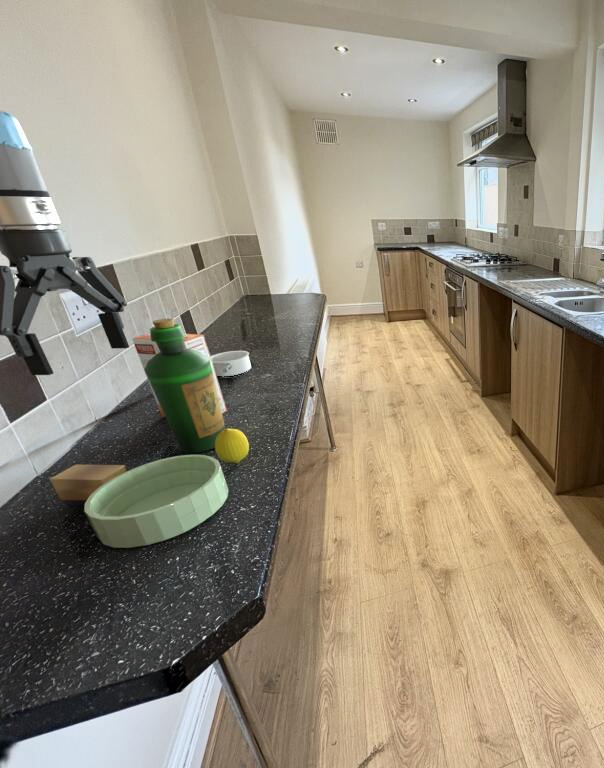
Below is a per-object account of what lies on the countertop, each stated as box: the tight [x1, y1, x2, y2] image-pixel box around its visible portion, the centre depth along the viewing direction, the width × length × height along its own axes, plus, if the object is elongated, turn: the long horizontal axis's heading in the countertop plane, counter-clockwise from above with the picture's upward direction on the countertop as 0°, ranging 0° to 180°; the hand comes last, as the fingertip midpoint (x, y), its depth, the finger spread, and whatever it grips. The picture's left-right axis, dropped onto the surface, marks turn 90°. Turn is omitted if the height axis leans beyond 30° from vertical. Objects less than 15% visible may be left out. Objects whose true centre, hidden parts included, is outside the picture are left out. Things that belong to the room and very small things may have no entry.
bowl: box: [83, 454, 229, 549], centre depth 69 cm, size 17×17×6 cm
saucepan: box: [210, 350, 252, 378], centre depth 127 cm, size 12×20×6 cm, turn 29°
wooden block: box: [49, 464, 128, 507], centre depth 72 cm, size 9×4×6 cm, turn 88°
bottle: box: [143, 318, 226, 454], centre depth 85 cm, size 11×11×28 cm
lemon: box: [214, 427, 250, 464], centre depth 82 cm, size 6×6×8 cm
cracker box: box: [131, 332, 228, 418], centre depth 100 cm, size 14×6×21 cm, turn 81°
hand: (85, 360), depth 70 cm, fingers open, 13 cm apart
